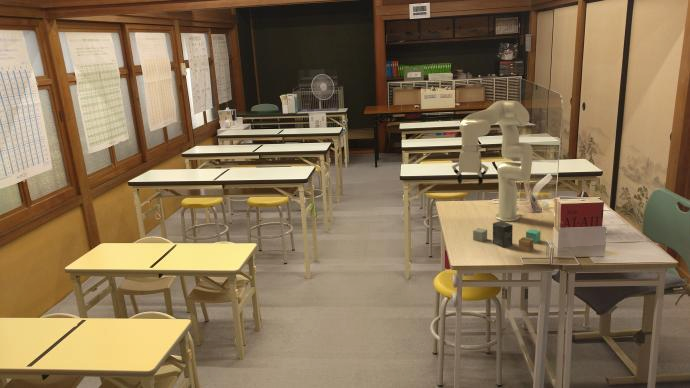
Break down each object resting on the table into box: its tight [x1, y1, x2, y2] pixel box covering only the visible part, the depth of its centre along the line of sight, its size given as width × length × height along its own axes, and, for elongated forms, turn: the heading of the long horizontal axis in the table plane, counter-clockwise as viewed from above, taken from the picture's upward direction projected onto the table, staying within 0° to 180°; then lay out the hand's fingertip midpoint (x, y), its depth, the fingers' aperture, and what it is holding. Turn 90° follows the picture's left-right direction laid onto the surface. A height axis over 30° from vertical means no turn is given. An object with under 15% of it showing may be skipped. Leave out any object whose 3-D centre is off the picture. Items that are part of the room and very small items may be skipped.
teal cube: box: [525, 228, 541, 244], centre depth 259 cm, size 5×5×5 cm
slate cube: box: [472, 227, 488, 243], centre depth 265 cm, size 5×5×5 cm
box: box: [492, 220, 514, 248], centre depth 257 cm, size 8×6×11 cm
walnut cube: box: [518, 236, 535, 253], centre depth 249 cm, size 5×5×5 cm
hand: (470, 183), depth 254 cm, fingers open, 9 cm apart
